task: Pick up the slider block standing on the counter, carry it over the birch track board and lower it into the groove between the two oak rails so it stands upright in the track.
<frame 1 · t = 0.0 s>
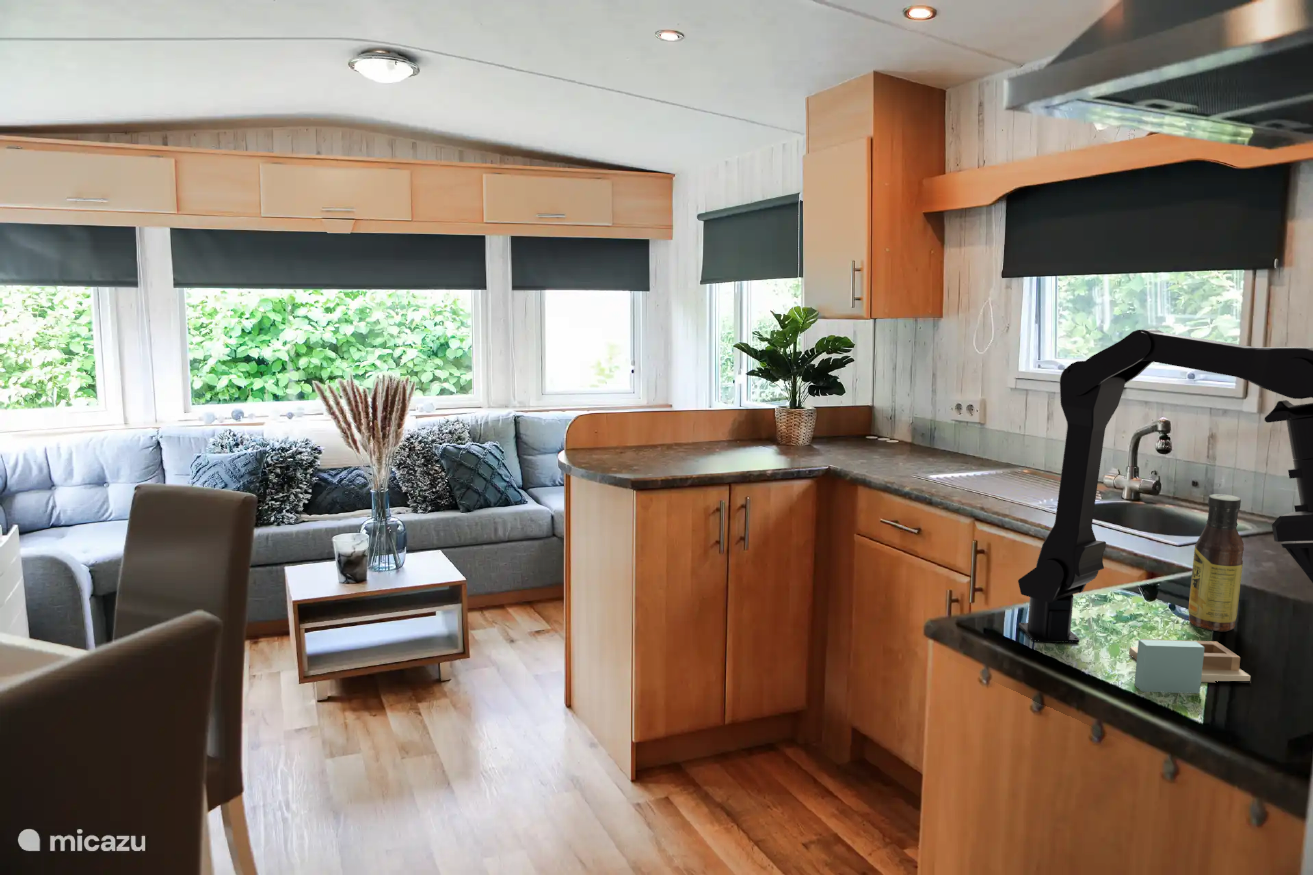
track board: (1187, 668, 123), on the table
slider block: (1166, 689, 117), on the table
sauce bottle: (1210, 627, 140), on the table
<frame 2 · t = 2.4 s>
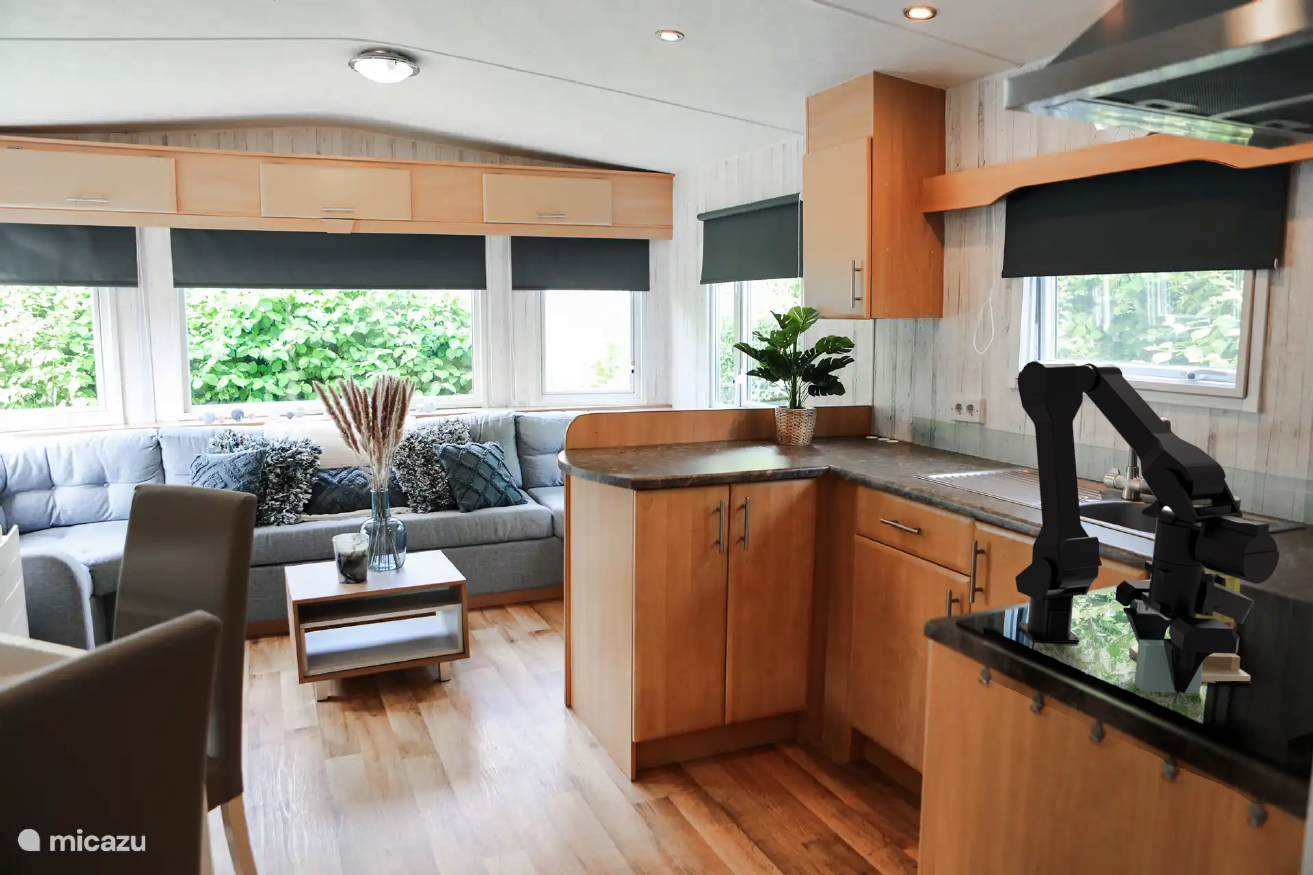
hand: (1165, 680, 117), 1 cm above the table, tool pointing down, fingers open, 7 cm apart
nothing on the table moved.
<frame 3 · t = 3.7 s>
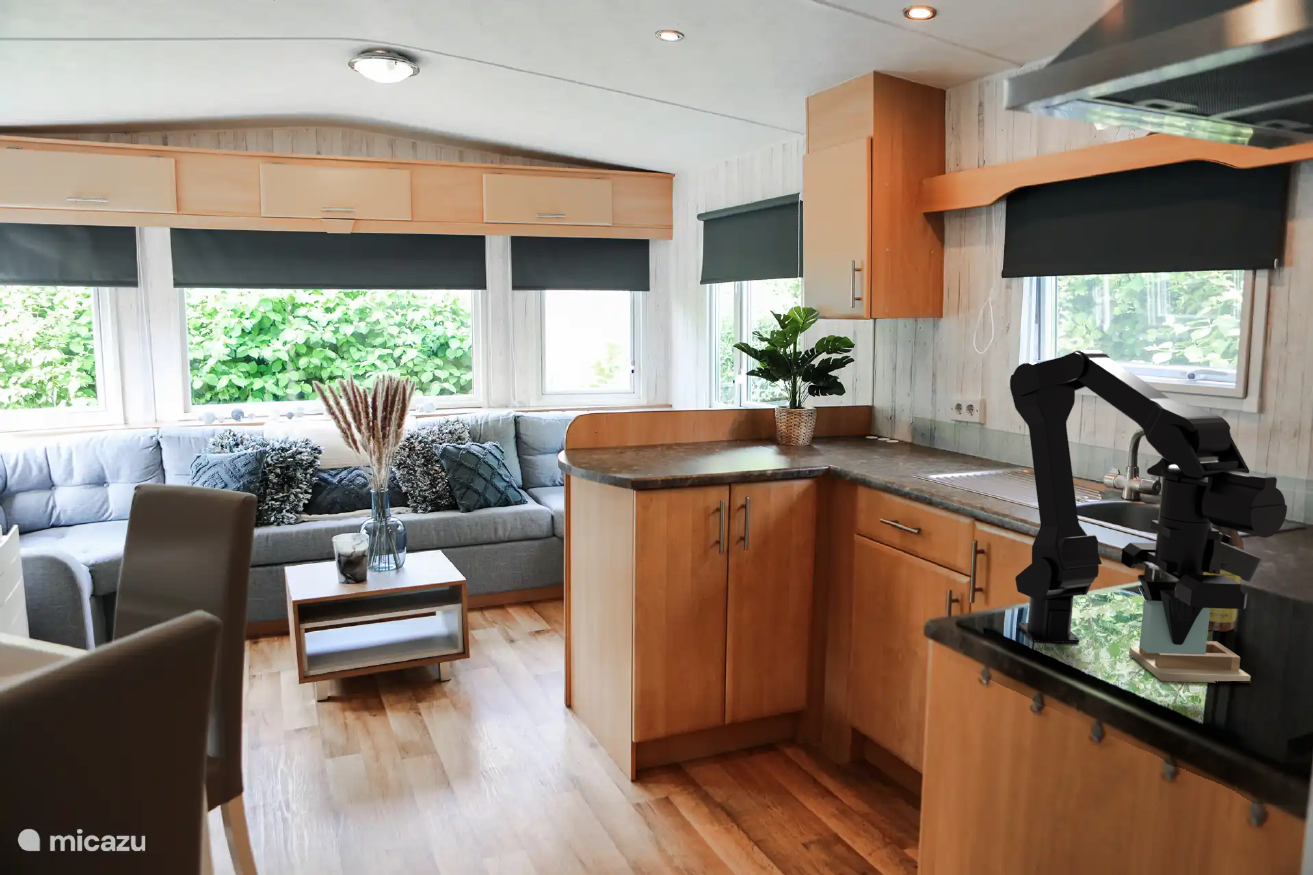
hand: (1172, 640, 116), 6 cm above the table, tool pointing down, fingers closed on slider block
slider block: (1172, 650, 116), point 5 cm above the table, touching gripper
everything else where it was.
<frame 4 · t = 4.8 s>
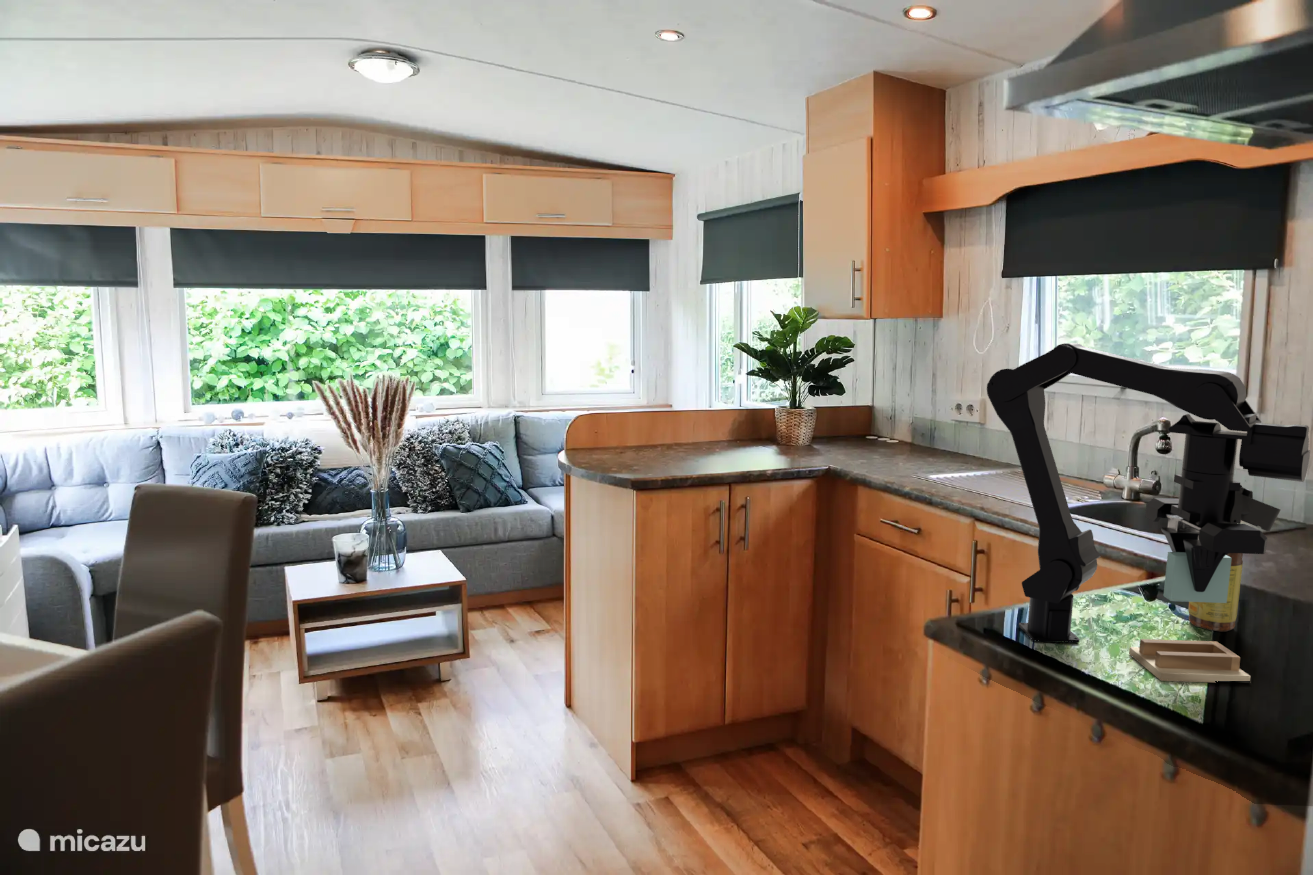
hand: (1194, 588, 121), 11 cm above the table, tool pointing down, fingers closed on slider block
slider block: (1194, 599, 122), point 9 cm above the table, touching gripper
everything else where it was.
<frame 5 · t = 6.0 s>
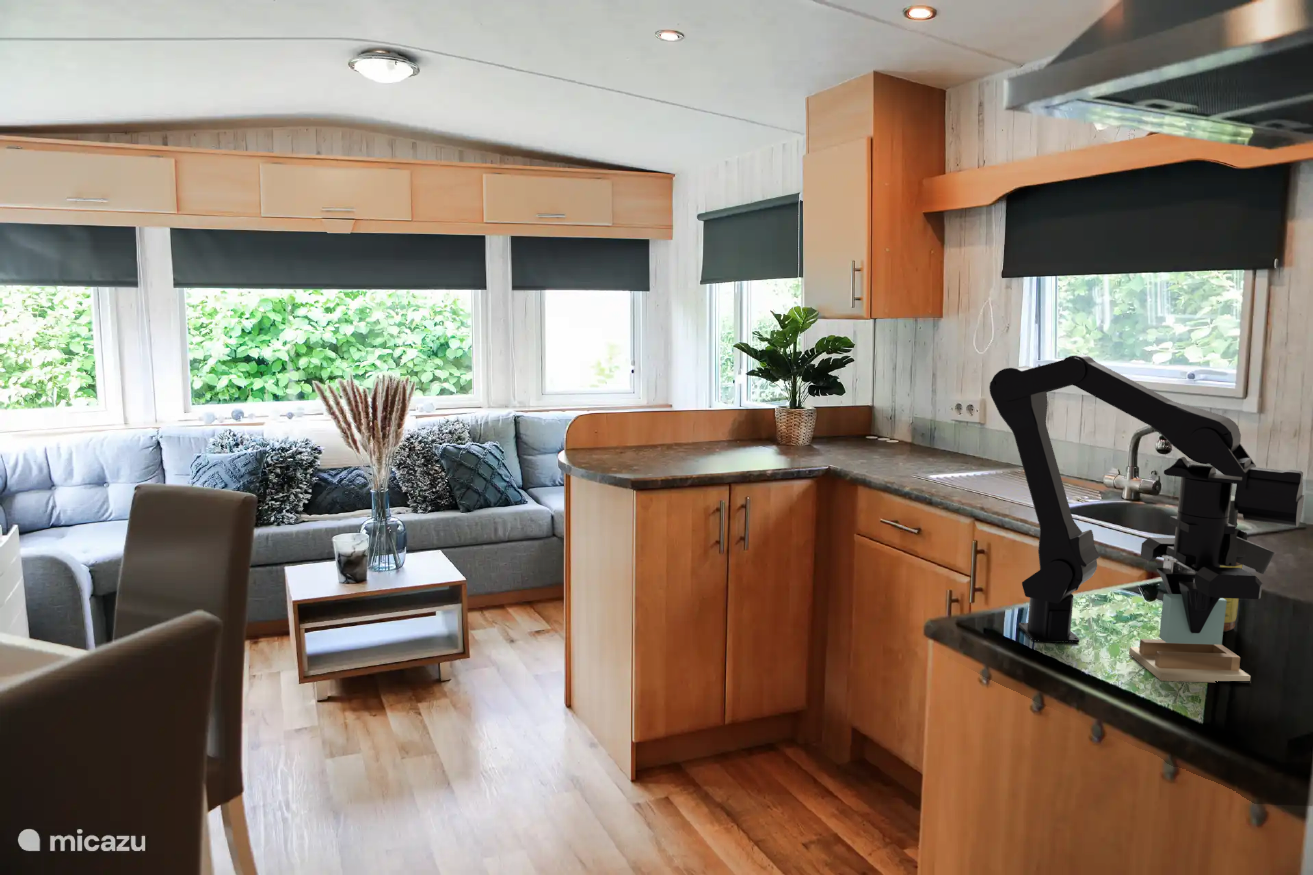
hand: (1190, 629, 123), 5 cm above the table, tool pointing down, fingers closed on slider block
slider block: (1190, 640, 123), point 4 cm above the table, touching gripper
everything else where it was.
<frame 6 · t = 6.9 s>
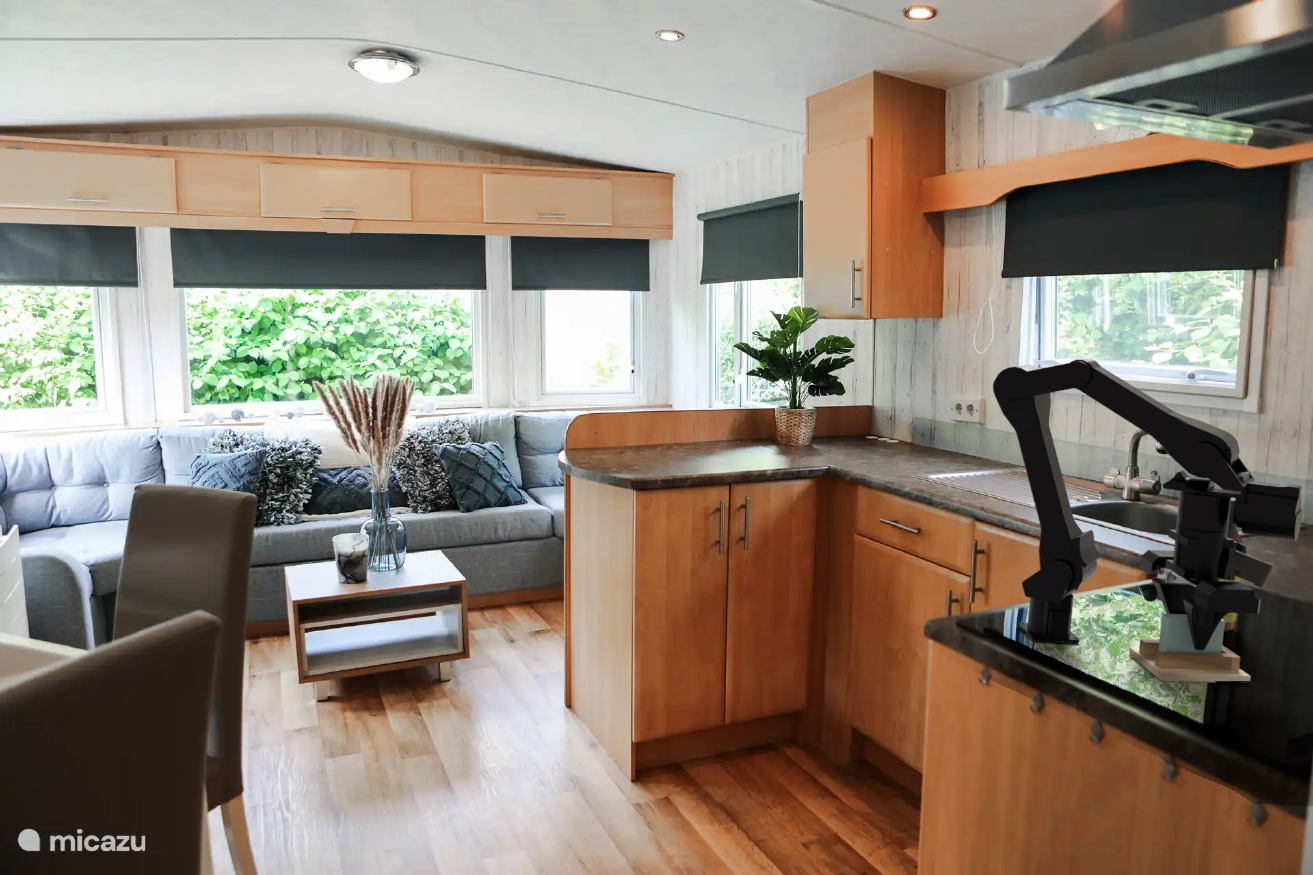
hand: (1189, 642, 123), 3 cm above the table, tool pointing down, fingers open, 5 cm apart
slider block: (1188, 660, 123), point 1 cm above the table, touching track board
everything else where it was.
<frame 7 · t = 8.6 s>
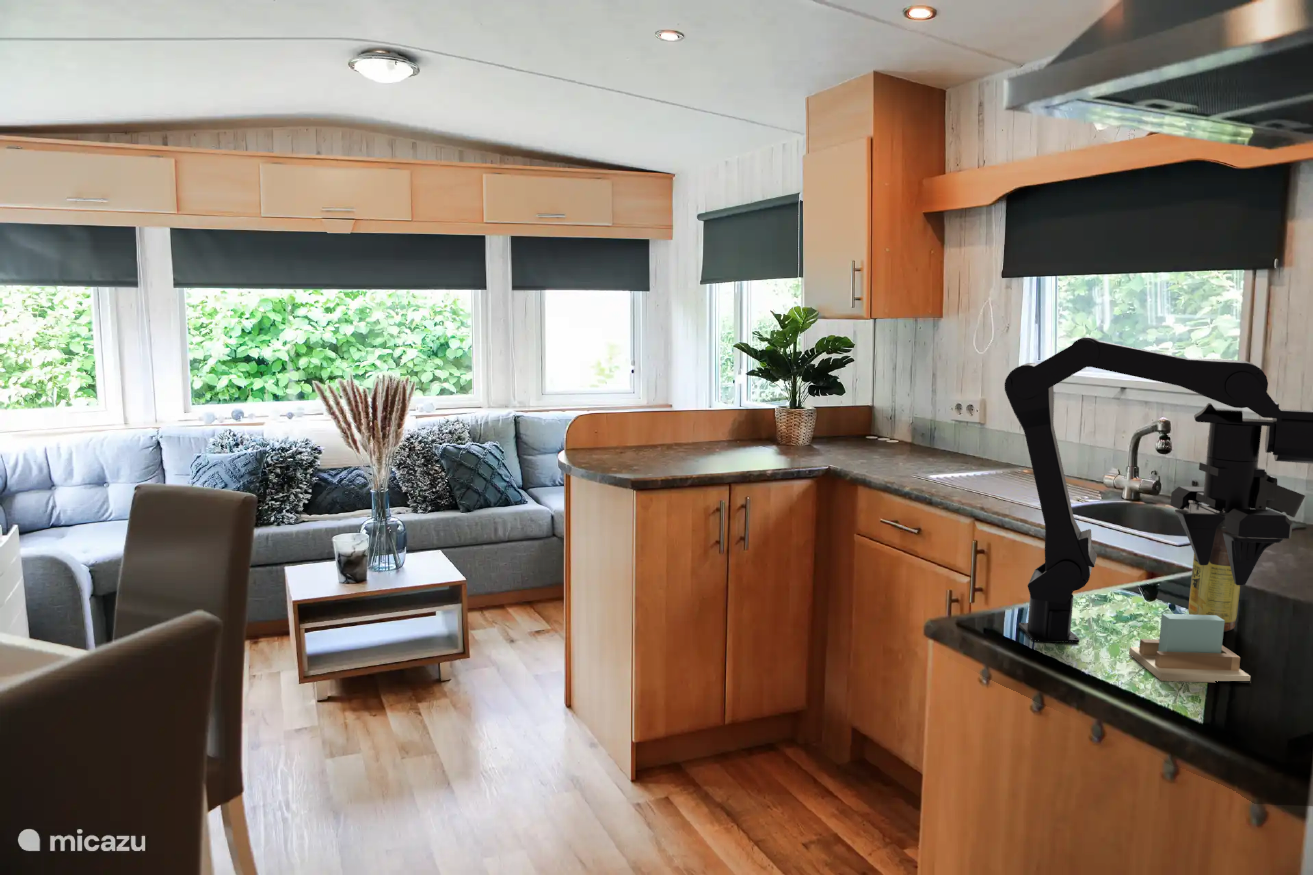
hand: (1221, 574, 123), 12 cm above the table, tool pointing down, fingers open, 9 cm apart
nothing on the table moved.
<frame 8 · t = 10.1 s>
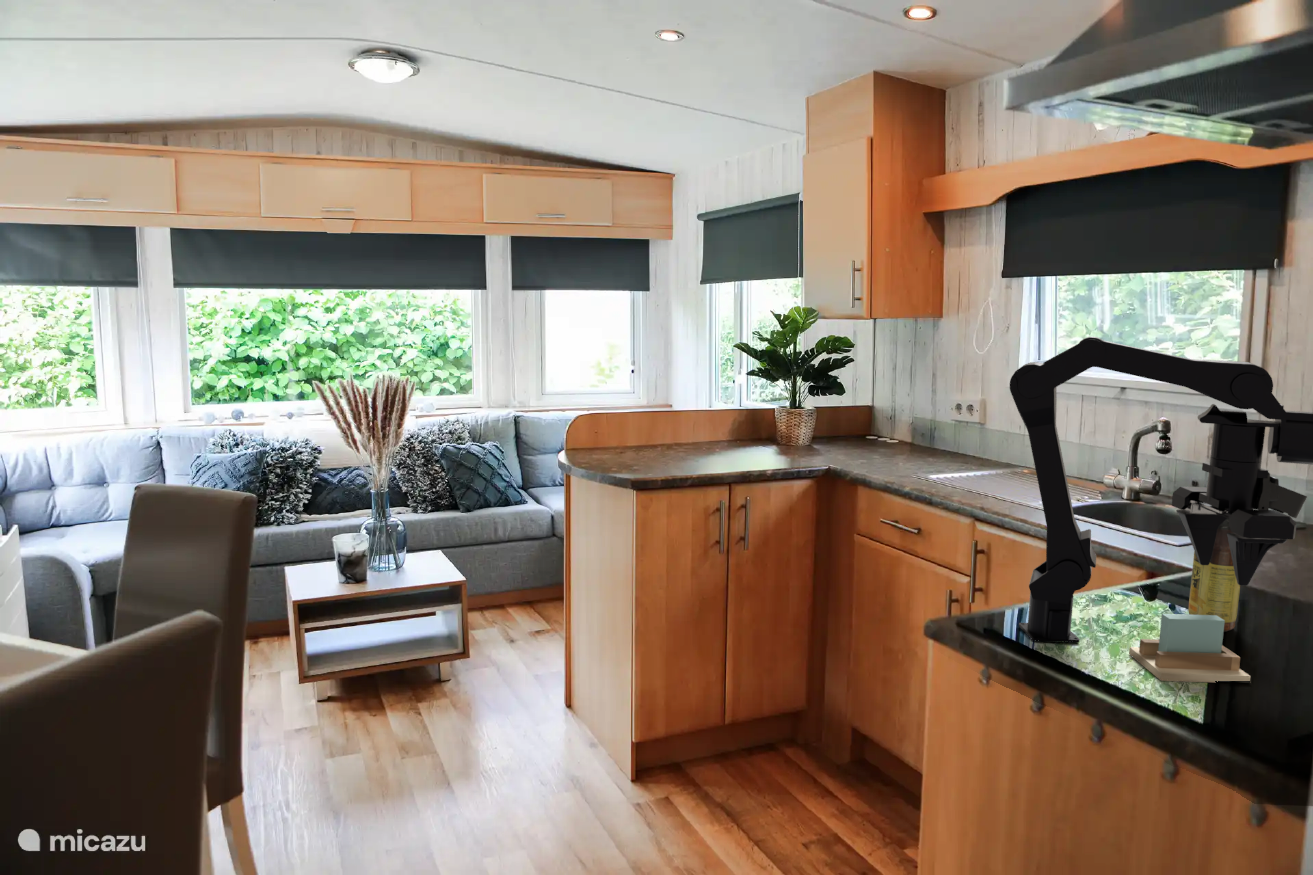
hand: (1222, 574, 124), 12 cm above the table, tool pointing down, fingers open, 9 cm apart
nothing on the table moved.
at the end: slider block 0.1 cm off-centre on the track board, point 1.0 cm above the track board's base; slider block tilted 0°; the gripper is holding nothing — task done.
